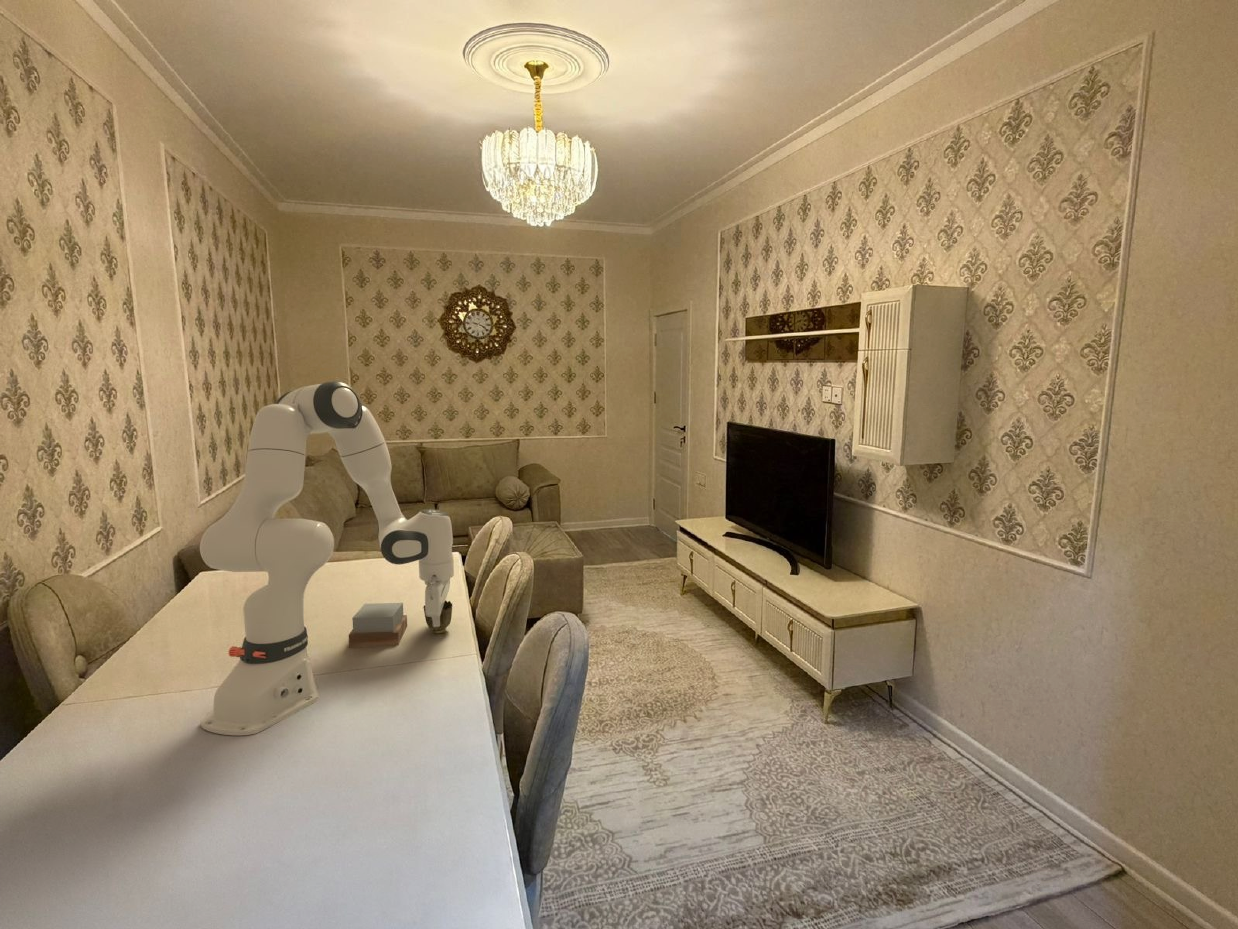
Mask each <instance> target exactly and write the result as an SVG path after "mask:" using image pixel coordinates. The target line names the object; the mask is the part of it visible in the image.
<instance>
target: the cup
mask: <svg viewBox="0 0 1238 929" xmlns="http://www.w3.org/2000/svg"><path fill="white" fill-rule="evenodd" d="M422 608H423V612H424V618H425V623H426V625H427V626H428V628H430V629H431V632H432V634H434V635H442V634H445V633H446V632H447V627H449V625H450V624H451V620H452V616H453V615H452V613H453V603H452V602H451V600H449V601H448V600H447V599H446V600H445V603H444V606H443V609H442V611H441V614H440V622H441V623H440V626H439V627H433V621H432V617H427V616H426V613H425V604H423V607H422Z"/></svg>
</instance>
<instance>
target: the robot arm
mask: <svg viewBox="0 0 1238 929" xmlns="http://www.w3.org/2000/svg"><path fill="white" fill-rule="evenodd" d="M251 427H252V428H251V431H250V435H249V442H248V447H247V454H246V455H247V456H246V463H245V470H244V478H243V482H242V486H241V490H240V492H239V493H238V494H239V495H238V496H237V498H236V500H235V502H234V503H233V505H232V506H231V507H230V509H229V510H228V511H227V512H226V513H225V515H223V516H222V517H221V518H219V519H218V520H217V521H216V522H214V523H212V524H211V525H210V526H208V528H207V529H206V530H205V531H204V533H203V534H202V536H201V539H200V543H199V553H200V556H201V558H202V560H203V562H204V563H205V564H206V566H208V567H209V568H210V569H213V570H214V569H215V570H220V571H224V572H229V573H230V572H231V573H262V572H265V573H267V574H268V580H267V584H266V585H264V586H262V587H259V588H258V589H256V590H255V591H253V592H252V593H250V595H249V596H248V597H247V598H246V599H245V602H244V603H243V608H242V610H243V621H244V622H243V623H244V624H243V625H244V632H245V636H244V639H243V640H242V645H241V646H240V647H238V646H235V645H234V646H233V645H232V646H230V647H229V649H228V650H227V651H228V653H227V654H228V656H229V657H235V658H239V660H238V662H237V663H236V665H235V666H234V667H233V669H231V671H230V673H229V674H227V676H226V677H225V678H224V680H223V681H222V683H221V684H220V685H219V686H218V687H217V689H216V691H215V693H214V695H213V697H214V698H213V709H212V710H211V711H210V712H208V713H206V715H204V716H203V717H202V718H201V719H200V724H199V725H200V727H201V728H202V729H203V730H205V731H207V732H210V733H213V734H218V735H225V736H249V735H256V734H258V733H260V732H262V731H265V730H266V729H268V728H269V727H272V726H273V725H275V724H277V723H279V722H281V721H283V720H285V719H287V718H288V717H290V716H292V715H294V714H296V713H298V712H299V711H301V710H303V709H305V708H307V707H309V706H311V705H312V704H314V703H316V702H318V701H319V700H320V695H319V692H318V685H317V683H316V681H315V678H314V674H313V673H314V672H313V668H312V663H311V661H310V658H309V654H308V650H307V646H308V644H309V640H308V638H309V636H308V630H307V627H306V626H305V616H304V614H305V611H304V610H305V609H304V605H305V604H304V601H305V600H304V599H305V592H306V589H307V586H308V584H309V582H310V581H311V578H312V577H313V575H314V574H315V573H316V572H318V570H320V569H321V568H322V567H324V566H325V565H326V563H327V562H328V561H329V560H330V559H331V557H332V555H333V553H334V549H335V538H334V534H333V532H332V531H331V529H330V527H329V526H328V525H327V524H326V523H324V522H323V521H317V520H312V519H307V518H275V515H276V514H277V512H278V511H279V509H280V508H281V507H282V506H283V505H284V504H287V502H290V501H292V500H294V499H295V498H297V497H298V496H299V495H300V493H301V492H302V490H303V488H304V479H305V470H306V455H307V454H306V453H307V440H308V437H309V435H314V434H324V433H326V434H329V436H330V437H331V438H332V439H333V441H334V442H335V445H336V449H337V452H338V455H339V457H340V460H341V462H342V464H343V466H344V468H345V470H346V472H347V474H348V475H349V476H350V478H351V479H352V481H353V482H355V484H357V485H358V486H359V487H361V488H362V490H363V491H364V492H365V493H366V495H367V497H368V499H369V501H370V505H371V506H372V509H373V512H374V514H375V517H376V519H377V530H376V531H377V532H376V536H377V542H378V545H379V547H380V552H381V555H382V557H383V559H385V560H386V562H387V563H388V562H389V563H390V564H393V565H405V564H409V563H413V562H416V561H418V575H419V579H420V580H421V581H423V582H424V585H426V586H425V591H424V605H425V613H426V616H427V617H432V621H433V627H439V626H440V623H441V622H440V614H441V611H442V609H443V606H444V603H445V600H446V601H447V597H448V594H449V592H450V585H451V578H453V577H454V576H455V566H454V562H455V561H454V553H453V549H452V547H453V544H454V541H453V540H454V537H453V525H452V521H451V518H450V516H449V515H448V514H447V513H446V512H445V511H442V510H439V509H432V508H427V509H421V510H420V511H419V512H418V513H417V514H415V515H414V516H412V517H411V518H409V519H408V518H407V516H405V515H404V513H403V512H402V510H401V508H400V506H399V503H398V500H397V498H396V494H395V493H394V490H393V487H392V482H391V474H392V471H393V470H392V468H393V467H392V460H391V456H390V451H389V448H388V445H387V443H386V440H385V437H384V435H383V432H382V431H381V428H380V426H379V424H378V422H377V421H376V419H375V417H374V416H373V413H372V412H371V411H370V410H369V409H368V408H367V406H365V405H362V402H361V400H360V397H359V396H358V394H357V393H356V391H355V390H354V389H353V388H352V387H351V386H350V385H349V384H347V383H344V382H341V381H325V382H323V383H319V384H313V385H312V384H311V385H306V386H302V387H299V388H297V389H295V390H291V391H288V392H286V393H284V394H282V395H281V396H280V397H279V398H277V400H276V401H275V403H273V404H268V405H266V406H263V407H261V408H260V409H259V410H258V411H257V413H256V415H255V418H254V422H253V424H252V426H251ZM425 613H424V614H425Z"/></svg>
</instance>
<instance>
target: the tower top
mask: <svg viewBox="0 0 1238 929" xmlns="http://www.w3.org/2000/svg"><path fill="white" fill-rule="evenodd" d="M403 615H404V603H403V602H387V603H385V602H382V603H380V602H379V603H377V602H376V603H364V604H363V605H362V606H361V607H360V609H359V610H358V611H357V612H356V613H355V614H354V615H353V617H352V629H353V633H364V632H394V630H395V629H396V627H397V626H398V624H399V623H400V621H401V620H402V618H403V617H404V616H403Z"/></svg>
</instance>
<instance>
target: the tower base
mask: <svg viewBox="0 0 1238 929" xmlns="http://www.w3.org/2000/svg"><path fill="white" fill-rule="evenodd" d="M403 616H404V617H403V618H402V620H401V621H400V623H399V624H398V626H397V627H396V629H395V630H394V632H364V633H353V628H352V629H351V631H350V633H349V634H348V645H349V646H348V647H349V649H355V648H368V647H382V646H384V647H385V646H396V645H399V644H400V643H401V641H402V638H403V636H404V634H405V632H406V630H407V628H408V615H407V614H403Z"/></svg>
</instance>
